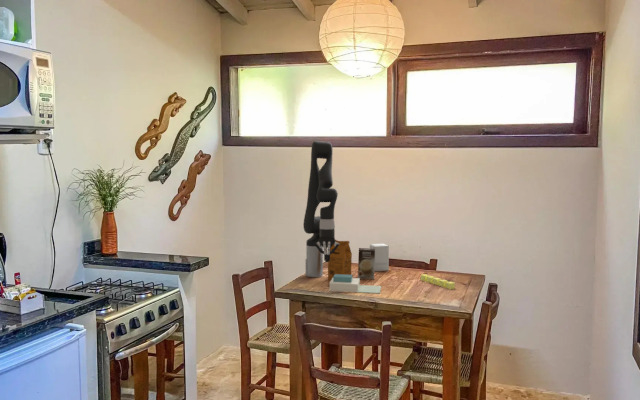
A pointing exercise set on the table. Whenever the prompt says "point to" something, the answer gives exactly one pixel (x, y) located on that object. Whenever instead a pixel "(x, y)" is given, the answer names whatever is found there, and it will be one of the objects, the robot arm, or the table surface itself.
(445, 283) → the yellow piece
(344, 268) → the coffee package
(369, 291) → the mat
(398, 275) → the table surface
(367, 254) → the coffee box
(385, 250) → the supplement box
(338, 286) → the white flat block
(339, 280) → the teal block
